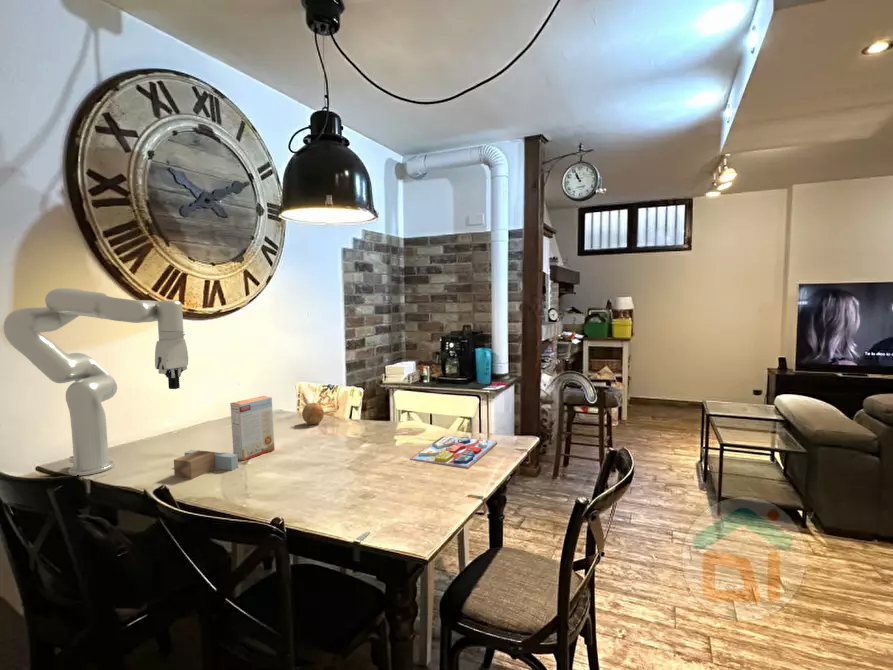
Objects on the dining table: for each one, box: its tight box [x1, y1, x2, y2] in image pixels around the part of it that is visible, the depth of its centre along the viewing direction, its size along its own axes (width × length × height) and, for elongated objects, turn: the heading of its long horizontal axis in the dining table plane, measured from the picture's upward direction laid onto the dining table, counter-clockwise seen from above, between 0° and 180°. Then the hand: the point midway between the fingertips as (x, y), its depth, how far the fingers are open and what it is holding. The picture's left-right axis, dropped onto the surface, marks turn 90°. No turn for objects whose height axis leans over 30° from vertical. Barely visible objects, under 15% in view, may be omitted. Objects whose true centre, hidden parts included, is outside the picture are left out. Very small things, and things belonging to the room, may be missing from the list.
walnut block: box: [173, 449, 216, 480], centre depth 157 cm, size 7×10×6 cm
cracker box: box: [230, 395, 275, 461], centre depth 174 cm, size 14×6×21 cm, turn 148°
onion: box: [301, 402, 325, 425], centre depth 218 cm, size 10×10×10 cm
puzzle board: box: [409, 435, 498, 469], centre depth 176 cm, size 30×23×3 cm
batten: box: [184, 449, 239, 471], centre depth 163 cm, size 20×3×4 cm, turn 73°
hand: (174, 388), depth 163 cm, fingers closed
